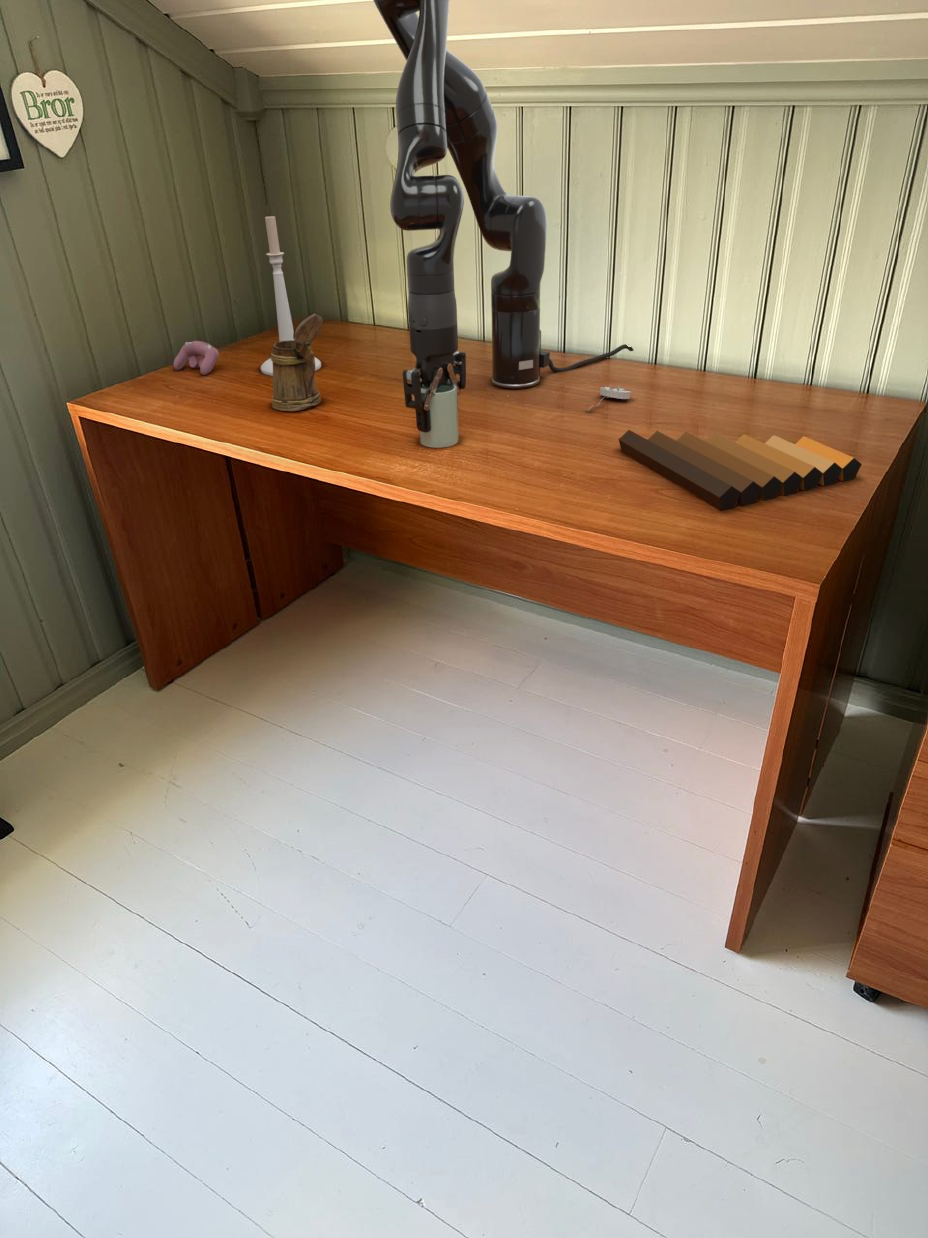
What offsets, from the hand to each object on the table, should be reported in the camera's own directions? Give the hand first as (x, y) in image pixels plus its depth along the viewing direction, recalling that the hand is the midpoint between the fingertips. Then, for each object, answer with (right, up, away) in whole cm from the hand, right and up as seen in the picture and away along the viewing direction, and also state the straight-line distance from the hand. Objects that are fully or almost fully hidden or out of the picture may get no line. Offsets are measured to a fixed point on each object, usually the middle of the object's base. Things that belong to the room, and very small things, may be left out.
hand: (438, 424), depth 139 cm
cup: (0, -2, +2) cm, 3 cm away
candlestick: (-33, +22, +42) cm, 58 cm away
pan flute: (+45, -9, -11) cm, 47 cm away
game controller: (+30, +7, +16) cm, 35 cm away
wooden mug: (-26, +8, +19) cm, 33 cm away
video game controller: (-53, +21, +43) cm, 72 cm away
